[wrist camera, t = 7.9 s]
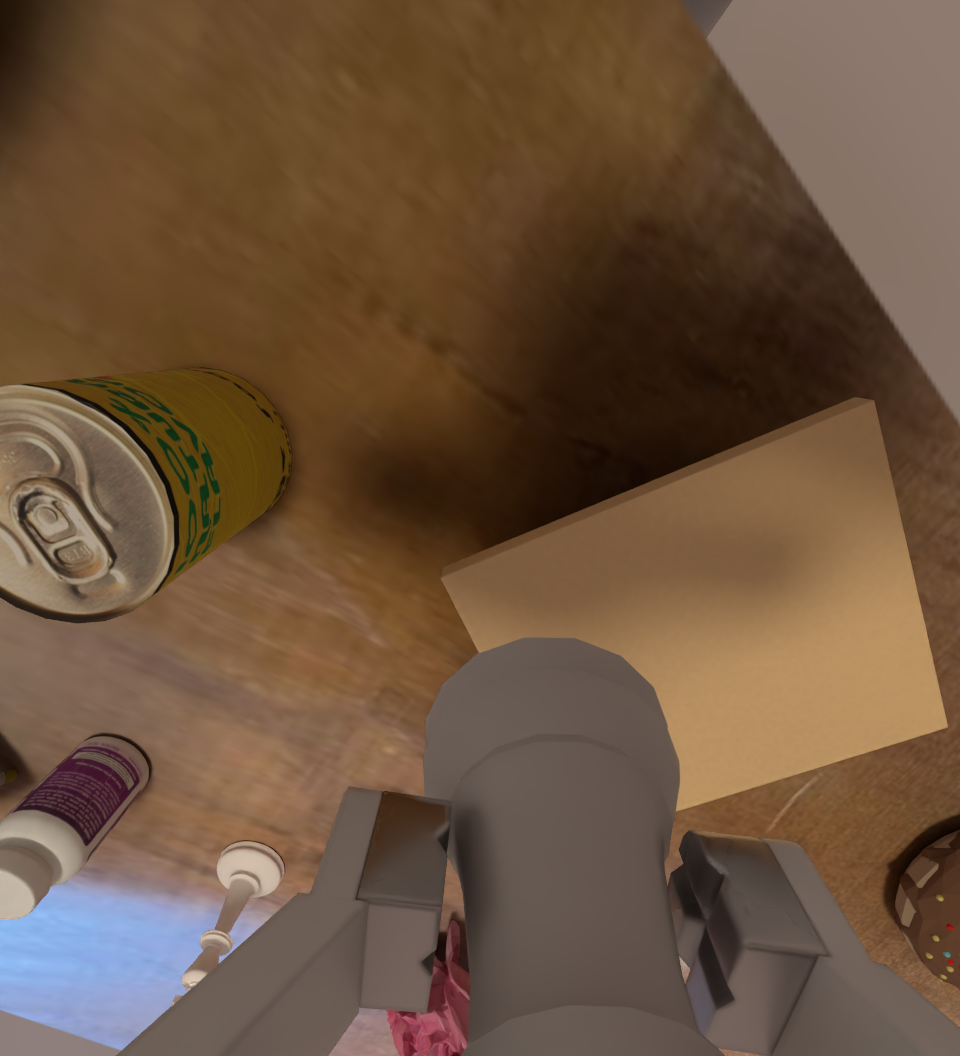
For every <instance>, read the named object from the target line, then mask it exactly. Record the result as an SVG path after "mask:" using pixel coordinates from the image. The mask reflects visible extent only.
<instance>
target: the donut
mask: <svg viewBox="0 0 960 1056" xmlns="http://www.w3.org/2000/svg"><path fill="white" fill-rule="evenodd" d="M899 881H900V885H899V888H898V892H897V896H896V901H895V907H896V917H895V919H896V921H897V923H898V926H899V928H900V929H901V930H902V933H903V936H904V938H905V939H906V941H907V943H908V944H909V946H910V948H911V949H912V951H913V952H914V953H915V954H916V955H917V956H918V957H919V959H920V960H921V961H922V962H923V964H924V965H925V966H926V967H927V968H928V969H929V970H930V971H931V972H932V973H933V974H934V975H935V976H937V977H938V978H940V979H941V980H943V981H945V982H947V983H950V984H953V985H955V986H956V987H957V988H959V989H960V830H958V831H956V832H953V833H950V834H948V835H945V836H943V837H942V838H940V839H939V840H937V841H936V842H934V843H932V844H931V845H929V846H928V847H926V848H925V849H922V852H921V853H920V854H919V855H918V856H917V857H916V858H915V859H914V860H913V861H912V862H911V863H910V865H909V867H908V868H907V870H906V872H905V873H904V874H903V875H901V877H900V880H899Z"/></svg>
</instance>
